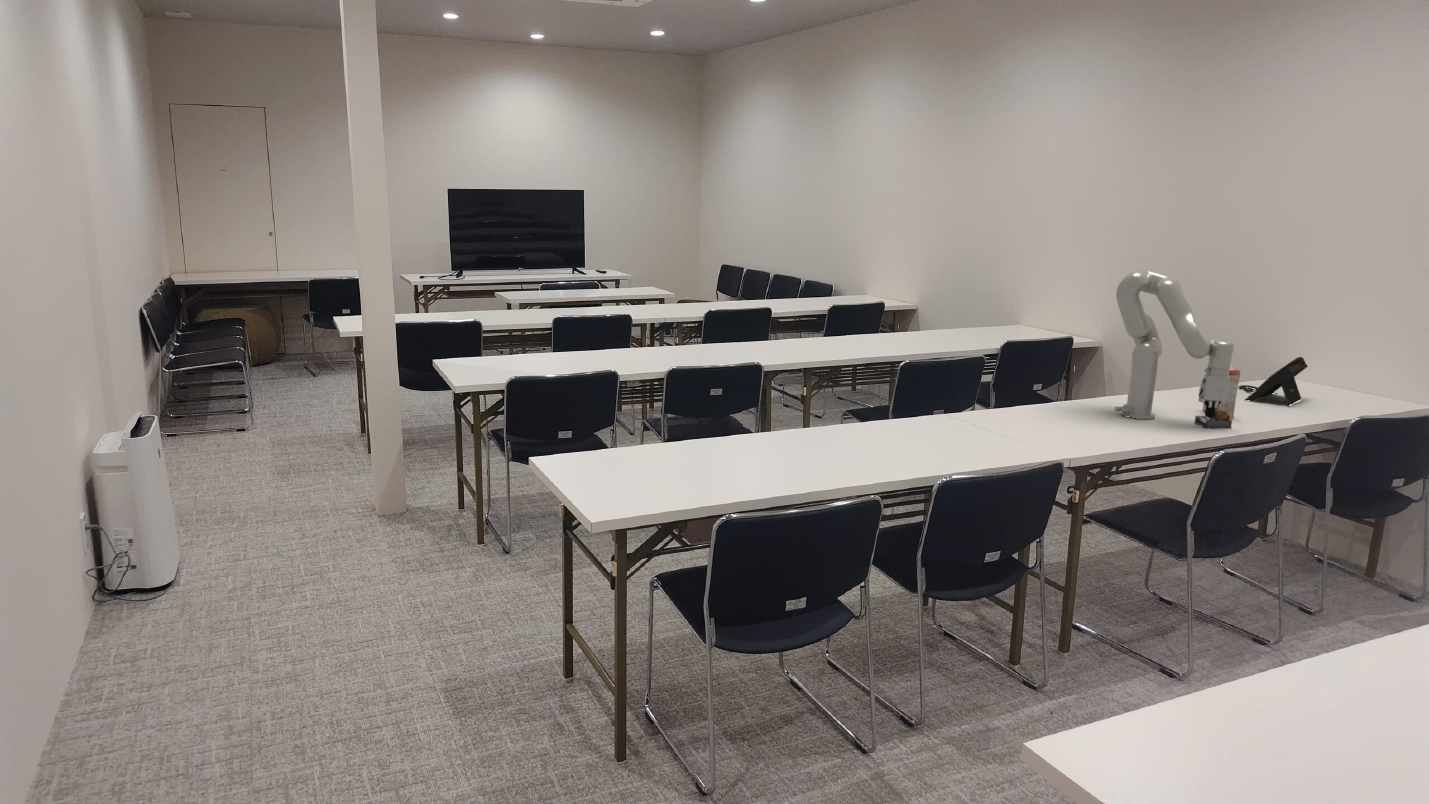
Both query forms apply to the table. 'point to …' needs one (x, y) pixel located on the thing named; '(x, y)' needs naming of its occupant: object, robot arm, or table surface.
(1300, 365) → the office phone
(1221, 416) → the slab
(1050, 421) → the table surface
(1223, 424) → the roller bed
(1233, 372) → the cracker box
